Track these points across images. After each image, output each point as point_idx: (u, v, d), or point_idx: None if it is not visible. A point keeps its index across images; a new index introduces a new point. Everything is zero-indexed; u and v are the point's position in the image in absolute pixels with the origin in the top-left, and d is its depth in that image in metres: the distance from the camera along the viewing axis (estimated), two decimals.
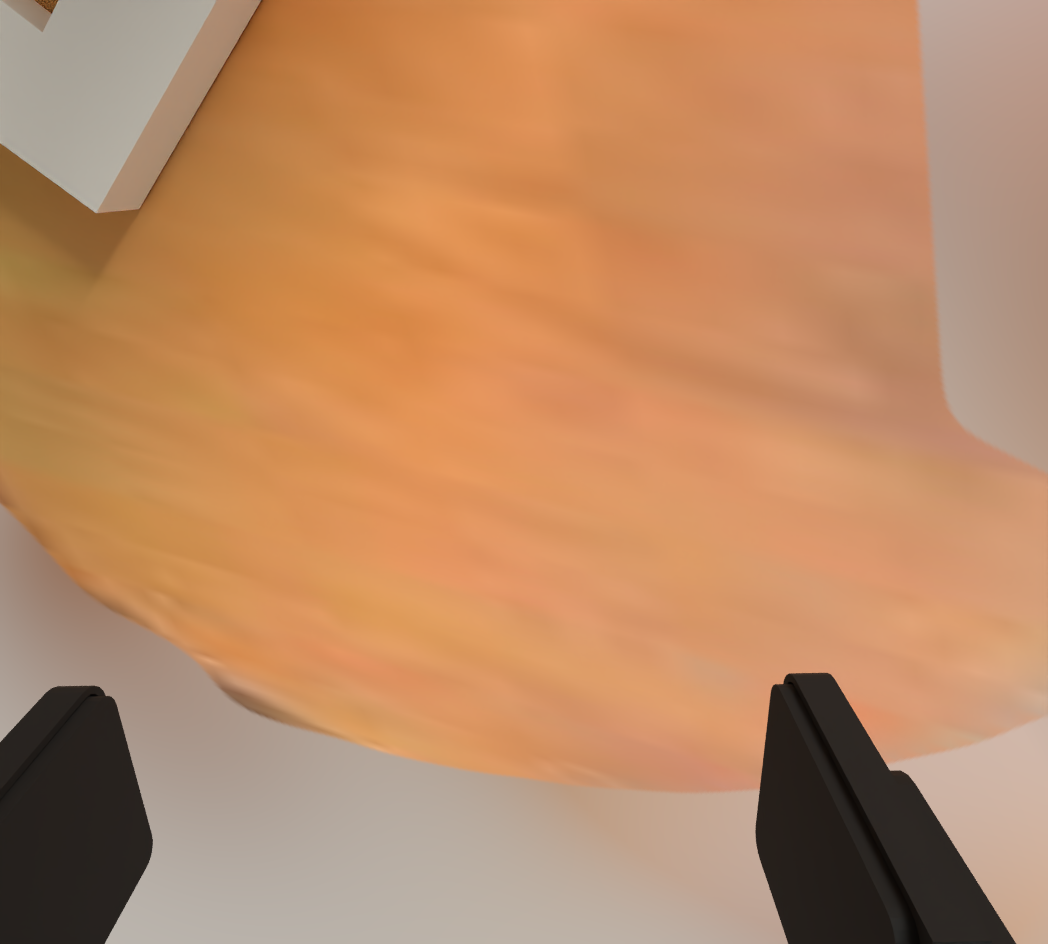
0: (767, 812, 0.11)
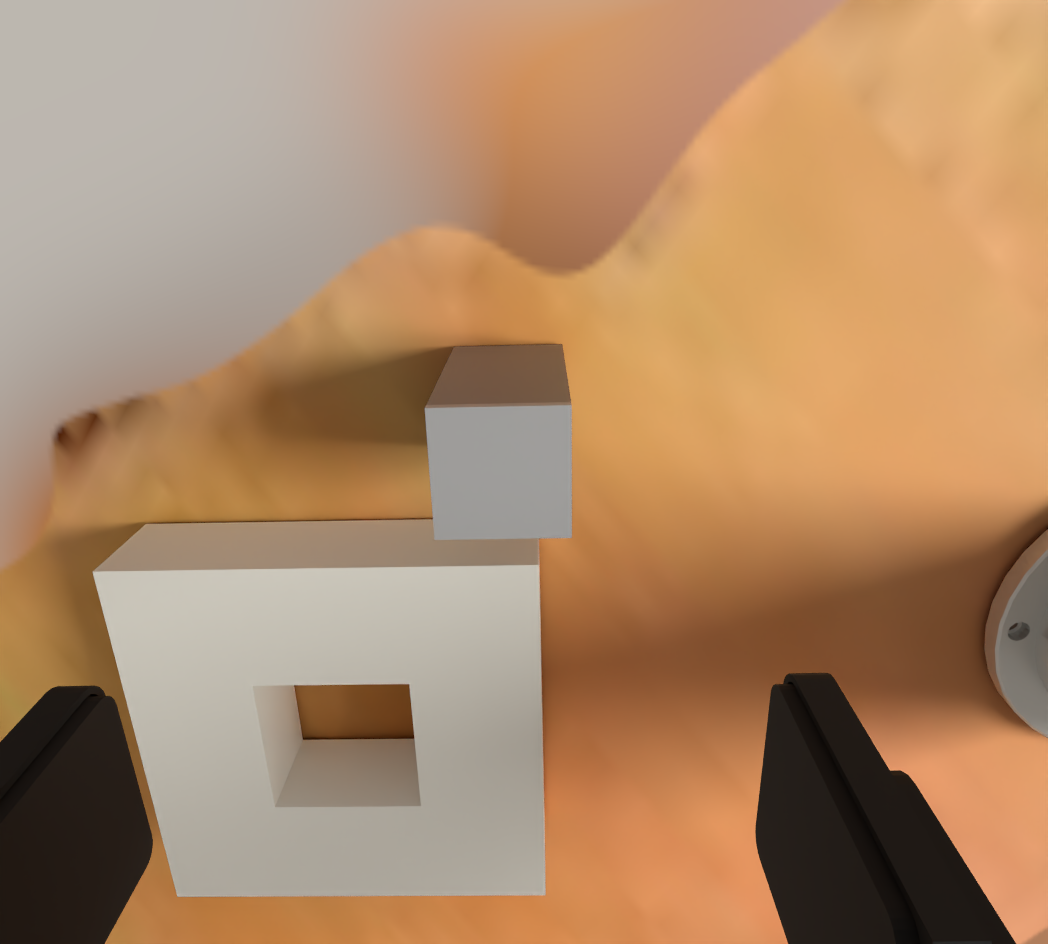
0: (767, 812, 0.11)
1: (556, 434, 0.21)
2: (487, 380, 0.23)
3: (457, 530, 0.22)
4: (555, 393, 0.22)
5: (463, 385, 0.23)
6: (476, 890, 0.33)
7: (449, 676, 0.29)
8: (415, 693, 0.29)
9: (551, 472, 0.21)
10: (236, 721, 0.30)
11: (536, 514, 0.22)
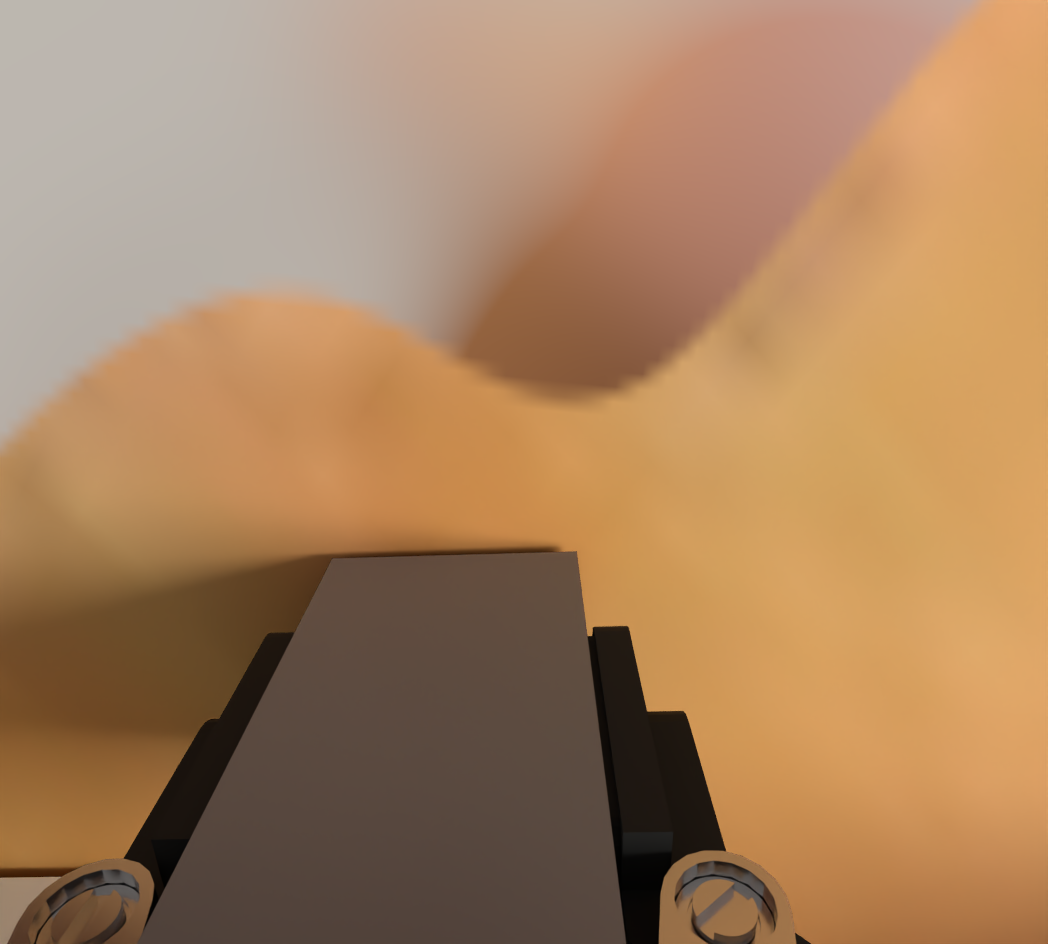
0: None
1: None
2: (364, 794, 0.08)
3: None
4: None
5: (277, 838, 0.07)
6: None
7: None
8: None
9: None
10: None
11: None
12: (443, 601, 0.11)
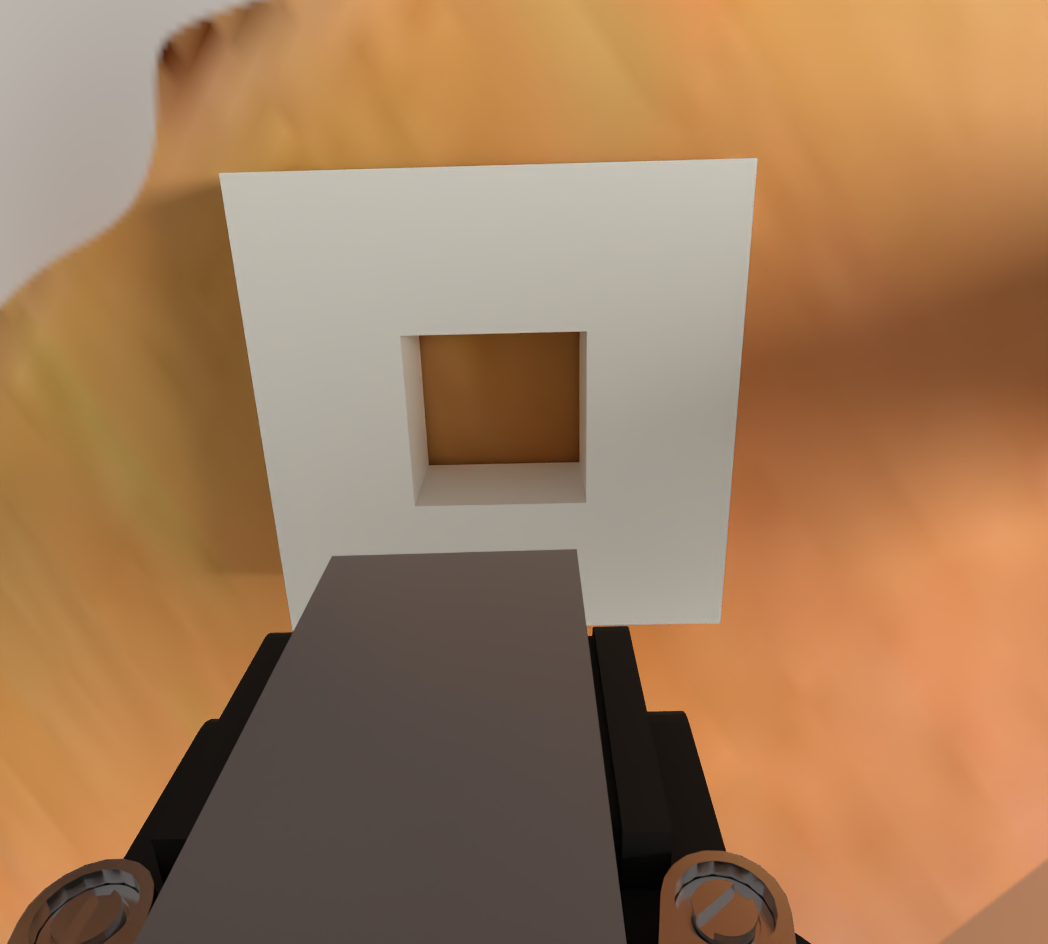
0: None
1: None
2: (362, 791, 0.08)
3: None
4: None
5: (276, 835, 0.07)
6: (640, 617, 0.28)
7: (635, 319, 0.24)
8: (593, 344, 0.25)
9: None
10: (378, 386, 0.25)
11: None
12: (442, 599, 0.11)
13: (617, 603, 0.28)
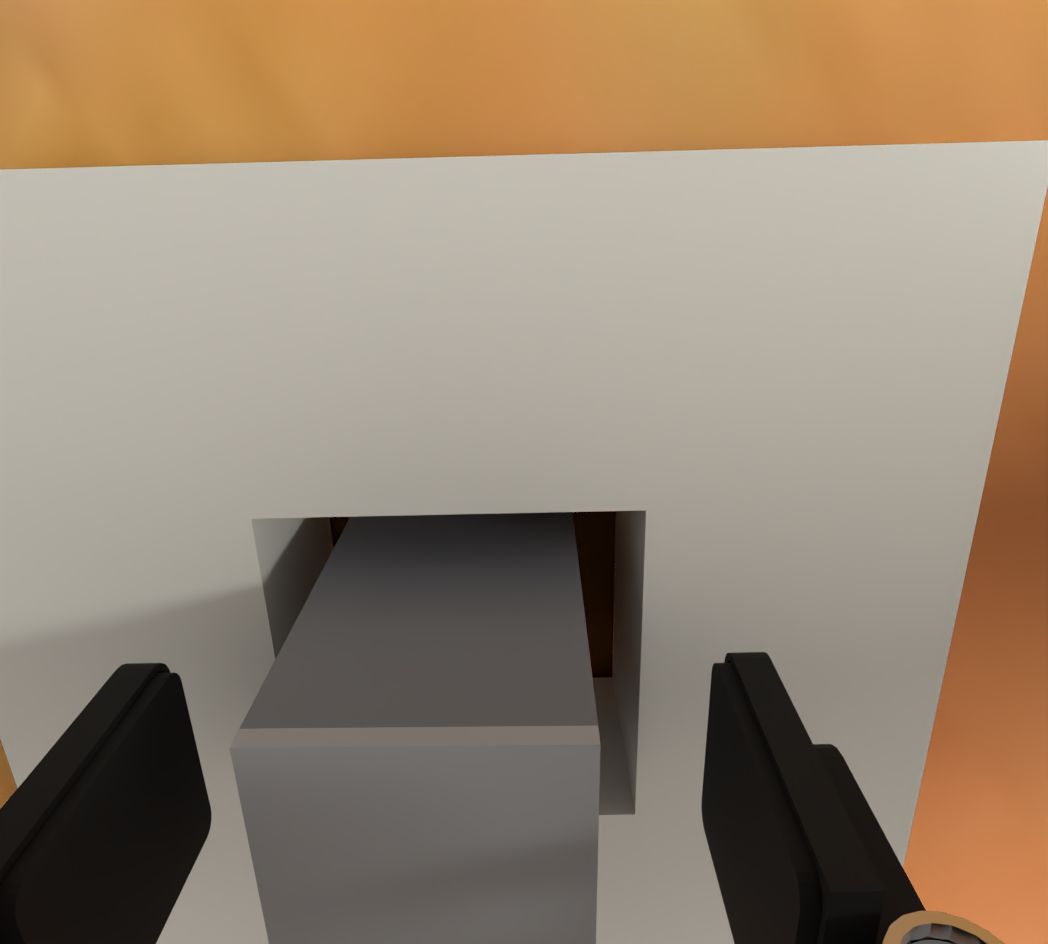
0: (710, 786, 0.11)
1: (561, 804, 0.08)
2: (411, 604, 0.11)
3: None
4: (559, 675, 0.09)
5: (354, 625, 0.10)
6: None
7: (751, 488, 0.11)
8: (658, 536, 0.12)
9: (548, 878, 0.09)
10: (213, 613, 0.12)
11: None
12: None
13: None
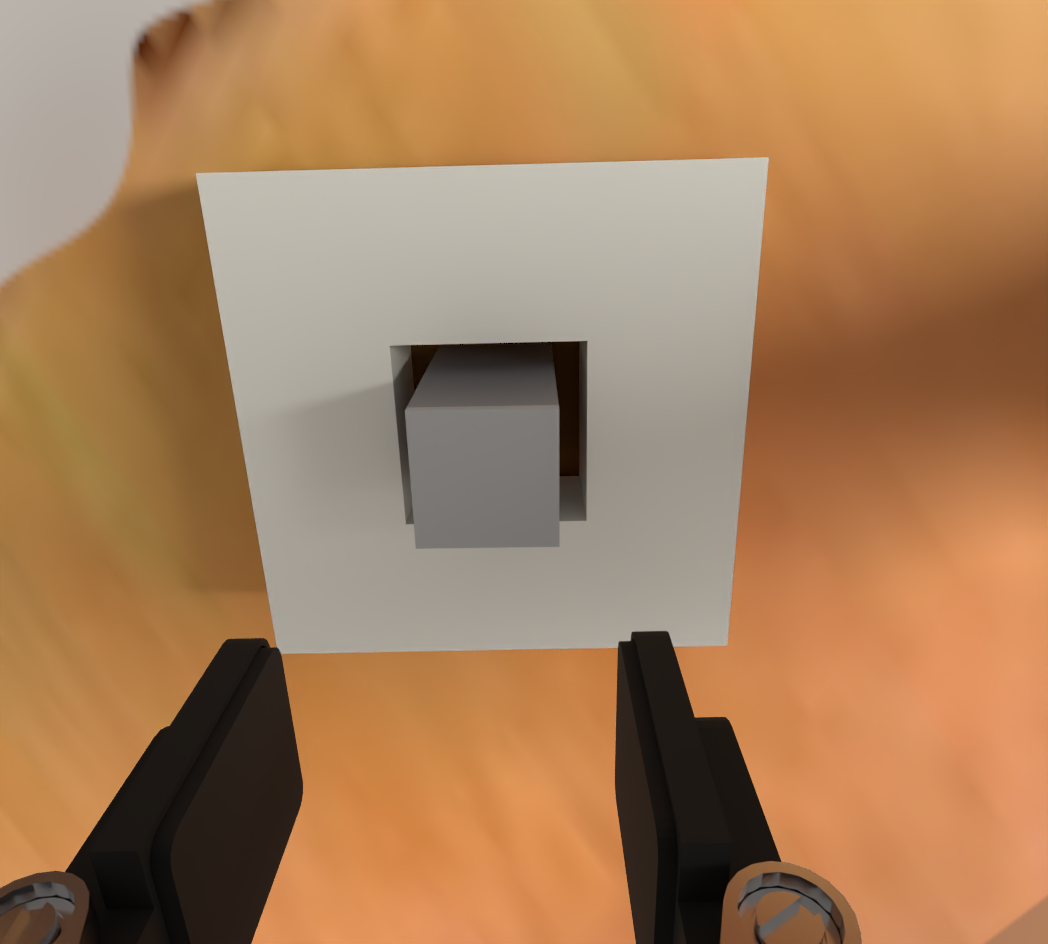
0: (618, 759, 0.12)
1: (543, 438, 0.20)
2: (472, 381, 0.22)
3: (439, 539, 0.21)
4: (542, 395, 0.21)
5: (446, 386, 0.22)
6: None
7: (639, 328, 0.23)
8: (594, 354, 0.23)
9: (538, 478, 0.20)
10: (366, 398, 0.24)
11: (522, 522, 0.21)
12: (492, 353, 0.26)
13: (619, 625, 0.27)
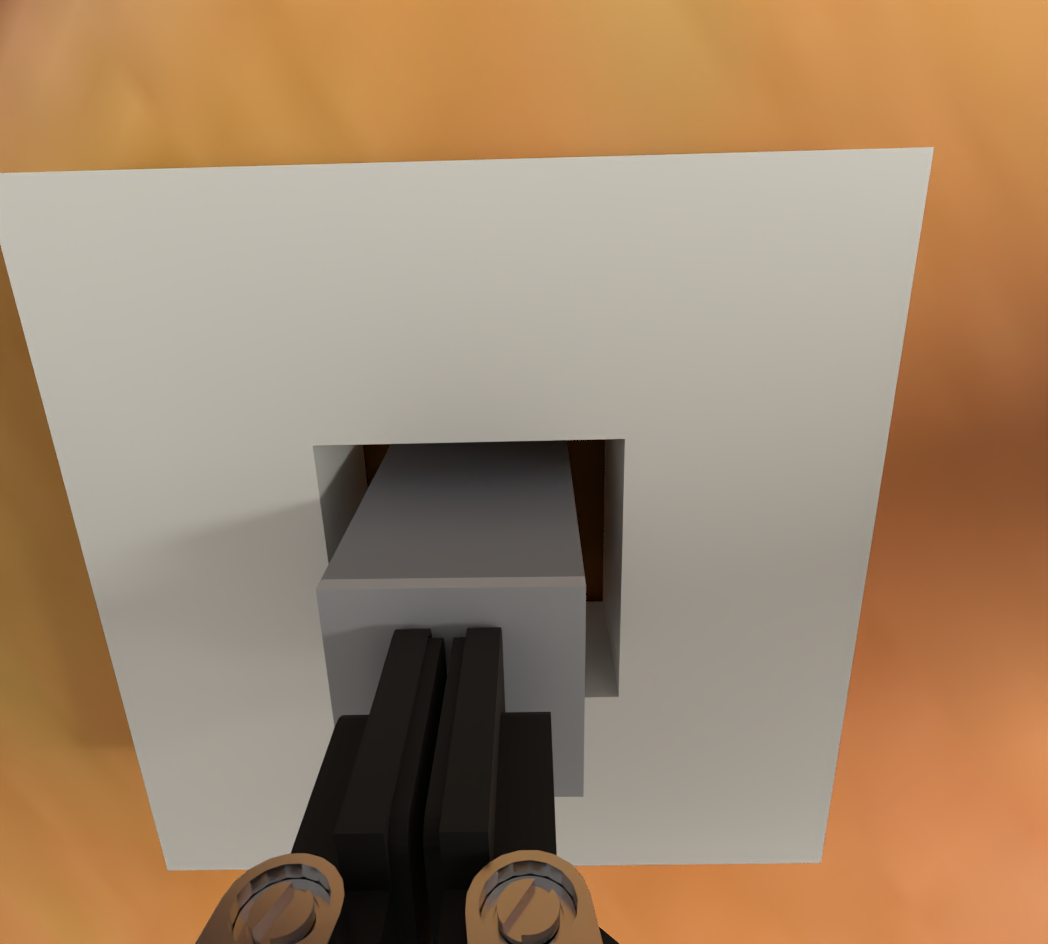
0: None
1: (557, 634, 0.12)
2: (441, 508, 0.14)
3: None
4: (556, 548, 0.12)
5: (398, 521, 0.13)
6: (699, 855, 0.18)
7: (707, 420, 0.14)
8: (635, 460, 0.15)
9: (548, 695, 0.12)
10: (280, 523, 0.15)
11: None
12: None
13: (664, 836, 0.18)
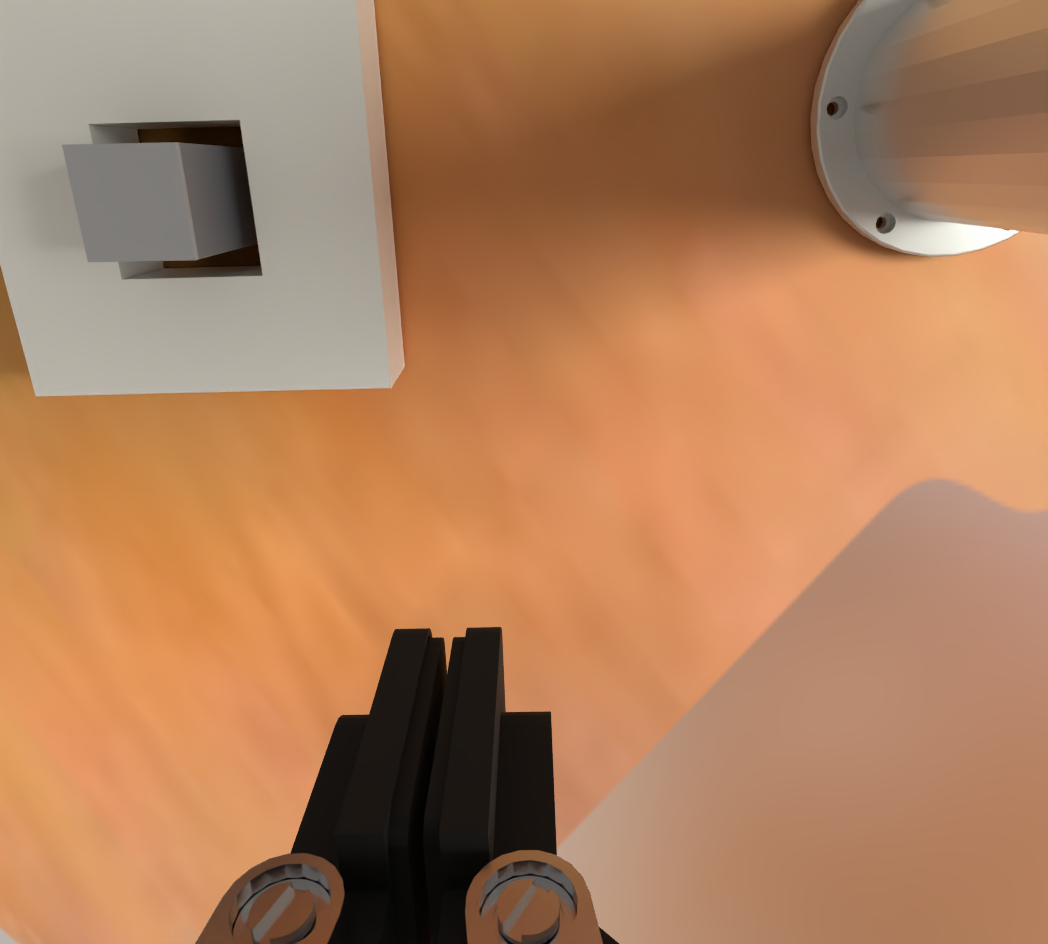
0: None
1: (167, 167, 0.27)
2: None
3: (104, 254, 0.28)
4: None
5: None
6: (324, 383, 0.34)
7: (277, 109, 0.30)
8: (246, 131, 0.30)
9: (169, 201, 0.27)
10: None
11: (164, 239, 0.28)
12: None
13: (302, 369, 0.34)
